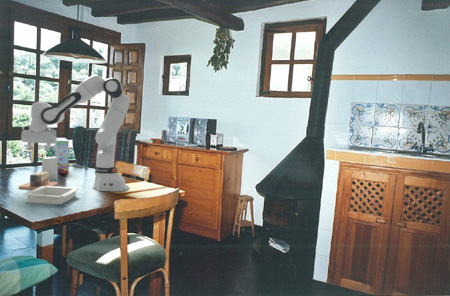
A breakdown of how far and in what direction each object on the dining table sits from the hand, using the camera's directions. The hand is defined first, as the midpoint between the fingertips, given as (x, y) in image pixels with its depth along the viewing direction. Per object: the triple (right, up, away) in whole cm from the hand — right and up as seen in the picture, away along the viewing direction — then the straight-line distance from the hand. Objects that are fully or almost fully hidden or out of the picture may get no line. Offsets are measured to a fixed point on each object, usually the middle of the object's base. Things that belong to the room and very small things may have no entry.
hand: (39, 150), depth 197 cm
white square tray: (+20, -27, -21) cm, 40 cm away
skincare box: (-7, -21, +25) cm, 33 cm away
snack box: (-15, -17, +56) cm, 60 cm away
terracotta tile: (-2, -23, +3) cm, 23 cm away
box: (-2, -22, +3) cm, 22 cm away
